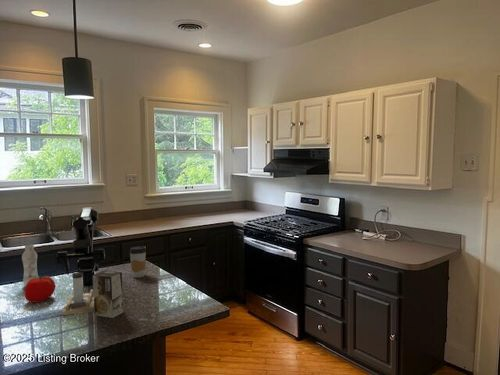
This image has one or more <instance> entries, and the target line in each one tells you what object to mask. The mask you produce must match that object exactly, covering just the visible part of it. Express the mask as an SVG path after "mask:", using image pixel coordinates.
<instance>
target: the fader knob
mask: <svg viewBox="0 0 500 375" xmlns="http://www.w3.org/2000/svg"><path fill="white" fill-rule="evenodd" d="M71 276H72V288H73V289H72V290H73V291H72V293H73V295H74V300H72V302H71V307H78V306H85V305H86V299H84V297H83V294H84V285H83V272H78V271H75V272H73V273H72V275H71Z"/></svg>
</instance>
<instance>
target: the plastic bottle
mask: <svg viewBox="0 0 500 375" xmlns="http://www.w3.org/2000/svg"><path fill="white" fill-rule="evenodd" d="M34 249H35V246H34V244H33V243H32V244H25V245H24V252H23V253H22V254H21V261H22V264H23V279H22V283H23V285H24V287H26V284H27V283H28V282H29V281H30V280H31V279H33V278H34V277H36V278H37V277H39V275H38V265H37V264H38V262H37V261H38V253H37V252H36V251H35V250H34Z"/></svg>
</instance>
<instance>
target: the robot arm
mask: <svg viewBox="0 0 500 375" xmlns="http://www.w3.org/2000/svg"><path fill="white" fill-rule="evenodd" d="M98 221H99V213H98V211H97V210H95V209H94V208H93V207H83V208H81V211H80V213H79V217H77V218H76V219H75V220H74V221H73V222H72V229H73V232H74V235H75V240H72V241H73V243H72V244H73V246H72V248H73V249H72V251H73V253H69V254H68V251H66V250H65V251H57V252H56V254H55V257H56V262H57V265H61V266H64V268H65V271H66V275H67V276H69V275H70V274H69V273H70V263H69V260H73V259H74V260H76V259H78V260H77V262H76V263H77V264H76V265H77V267H76V268H77V272H83V287H87V286H91V285H93V275H95V274H96V273H95V272H98V271H99V270H100V268H99V264H100V263H101V262H102V261H105V259H106V254H105V252H106V251H105V249H104V248H95V249H94V251H93V247H94V246H93V245H94V244H93V243H94V229H95V228H96V227H97V226H98V225H97V223H98Z"/></svg>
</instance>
